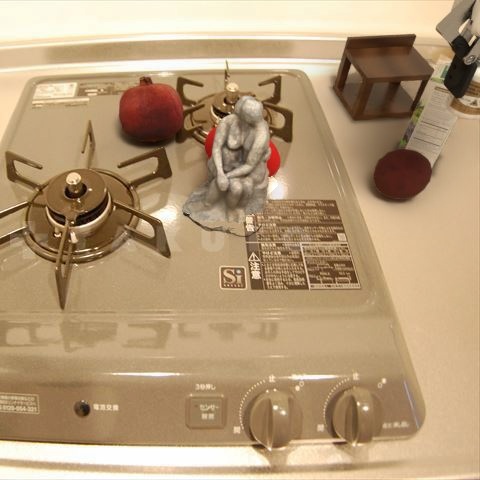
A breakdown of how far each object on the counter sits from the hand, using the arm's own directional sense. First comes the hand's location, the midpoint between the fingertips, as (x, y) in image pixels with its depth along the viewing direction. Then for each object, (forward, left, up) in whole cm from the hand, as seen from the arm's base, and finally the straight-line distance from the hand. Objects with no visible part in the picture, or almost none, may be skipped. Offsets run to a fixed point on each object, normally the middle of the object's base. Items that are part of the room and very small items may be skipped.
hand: (475, 87), depth 60 cm
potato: (-1, -7, -22) cm, 23 cm away
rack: (-8, -30, -22) cm, 38 cm away
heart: (+21, -12, -12) cm, 28 cm away
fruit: (+32, -22, -22) cm, 44 cm away
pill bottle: (0, 0, -3) cm, 3 cm away
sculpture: (+30, -5, -13) cm, 33 cm away
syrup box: (-8, -14, -22) cm, 27 cm away
